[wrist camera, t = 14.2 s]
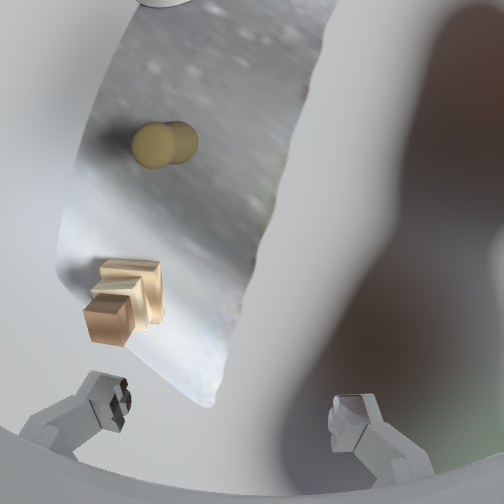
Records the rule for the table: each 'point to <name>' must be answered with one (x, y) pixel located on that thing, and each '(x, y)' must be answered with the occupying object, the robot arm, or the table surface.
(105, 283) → the tower mid
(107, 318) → the walnut cube
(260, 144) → the table surface
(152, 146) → the cork
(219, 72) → the table surface
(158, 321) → the tower base
